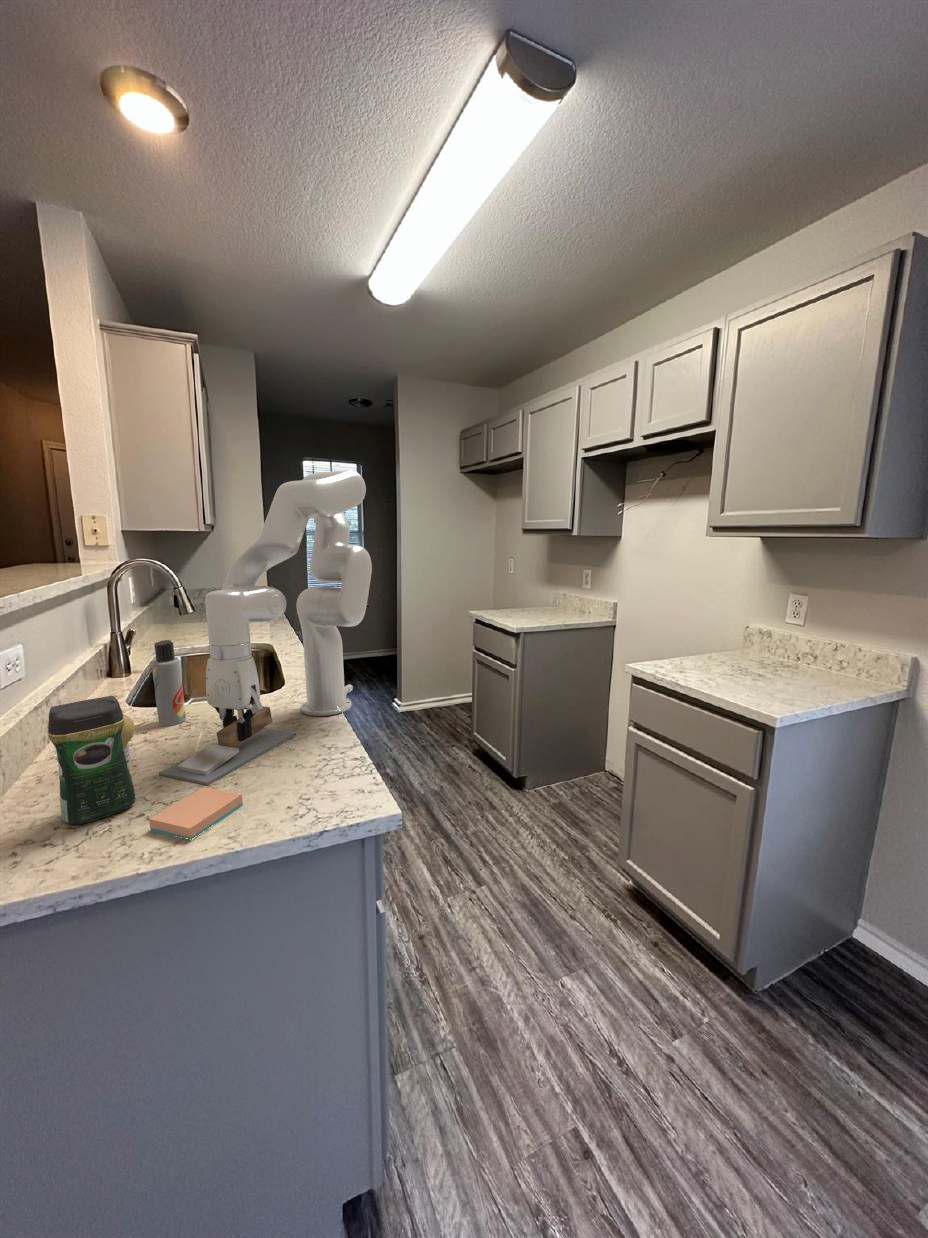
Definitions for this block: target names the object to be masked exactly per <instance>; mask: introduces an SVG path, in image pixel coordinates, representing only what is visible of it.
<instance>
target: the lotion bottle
mask: <svg viewBox="0 0 928 1238" xmlns="http://www.w3.org/2000/svg"><path fill="white" fill-rule="evenodd" d="M153 647H154V653H155V660H154V661H153V662H152V663H151V669H152V680H153V688H154V694H155V704H156V711H157V721H158V724H159V726H163V727H168V726H169V727H171V726H174V725H175V726H176V725H179V724H182V723H183V722H185V721H186V720H187V719H186V718H187V717H186V708H185V707H186V706H185V705H186V704H185V699H184V698H185V697H184V689H183V679H182V671H181V670H182V669H181V661H180V659H178V658H176V656H175V647H174V642H173V641H172V640H171V639H164V640H160V641H156V642H155V643H153Z"/></svg>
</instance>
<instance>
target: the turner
mask: <svg viewBox="0 0 928 1238" xmlns="http://www.w3.org/2000/svg"><path fill="white" fill-rule="evenodd" d="M262 706H263V705H262ZM238 722H239V718H237V720H236V721H234V722H233V723H231V724H230V725H228V726H227V727H225V728H223V727H222V729H220V730H218V731H217V732H216V737H217V742H218V743H219V745H216V744H215V743H210V744H209V745H208V746H206V747H204V748H203V749H201V750H200V751H198V752H197V753H195V754H193V755H192V756H190V757H188V758H189V759H187V758H186V759H187V760H186V761H184V762H183V763H181V764H180V765H178V770H183V771H189V772H194V773H199V774H204V775H208V774H209V773H210V772H212V771H213V770H215V769H216V768H217V767H219V766H220V765H222V764H223V763H224V762H226V761H227V760H229V759H230V758H231V757H233V756H234V755H236V754H237V753H238V752H239V749H238V748H236V747H237V746H239V745H240V744H242V743H243V742H244V741H246V740H247V739H249V738H250V737H249V738H247V739H245V740H243V741H239V740H238V730H237V723H238ZM271 723H273V717H272V712H271V707H270V706H269V707H268V706H263V709H262V710H260V711H259V712H257V713H255V715H254V716H253V718H252V719H251V729H252V736H253V735H254V734H256V733H257V732H259V731H260V730H262V729H263V728H267V727H268V726H269V725H270V724H271ZM252 736H251V737H252ZM218 743H217V744H218Z"/></svg>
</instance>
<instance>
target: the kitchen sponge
mask: <svg viewBox="0 0 928 1238" xmlns="http://www.w3.org/2000/svg"><path fill="white" fill-rule="evenodd" d="M243 806H244V802H243V795H242V794H241V793H238V792H237V793H236V792H232V791H225V790H221V789H216V788H211V787H206V786H203V787H202V788H200V789H198V790H196V791H195V792H193V793H191V794H190V795H188V796H186V797H185V798H183V799H181V800H180V801H178V802H175V803H174V804H173V805H171V806H169V807H167V808H165V810H162V811H160V812H158V813H157V814H155V815H154V816H152V817H150V818H149V826H150V831H151V832H154V833H158V834H161V835H166V836H170V837H174V836H177V837H176V838H178V837H182V838H188V839H191V840H192V838H194V837H195V836H198V835H199V834H200V833H202V832H203V831H205V830H206V831H208V830H209V829H210V828H209V827H211V826H212V825H214V824H215V825H216V823H217V824H218V823H220V822H221V821H223V819H226V818H227V817H229V815H231V814H232V813H234V812H235V811H237V810H239V809H240V808H242V807H243ZM219 821H220V822H219ZM215 825H214V826H215ZM212 827H213V826H212ZM212 827H211V828H212ZM208 828H209V829H208ZM207 829H208V830H207ZM206 831H205V832H206ZM202 834H203V833H202ZM199 836H200V835H199ZM199 836H198V837H199ZM182 838H181V839H182ZM192 841H193V840H192Z"/></svg>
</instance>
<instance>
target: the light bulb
mask: <svg viewBox="0 0 928 1238" xmlns="http://www.w3.org/2000/svg"><path fill="white" fill-rule="evenodd" d="M123 716H124V726H123V729H122V742H123V748H124V752H125V757H126V760H127V763H128V762H129V761H130V760H131V755H130V754H131V753H130V746H129V745H128V743H130V742H131V740H132V737H133V736H134V733H135V727H136V726H135V723H134V720H133V719H132V718H131V717H130V716H128V715H127V714H123Z"/></svg>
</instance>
